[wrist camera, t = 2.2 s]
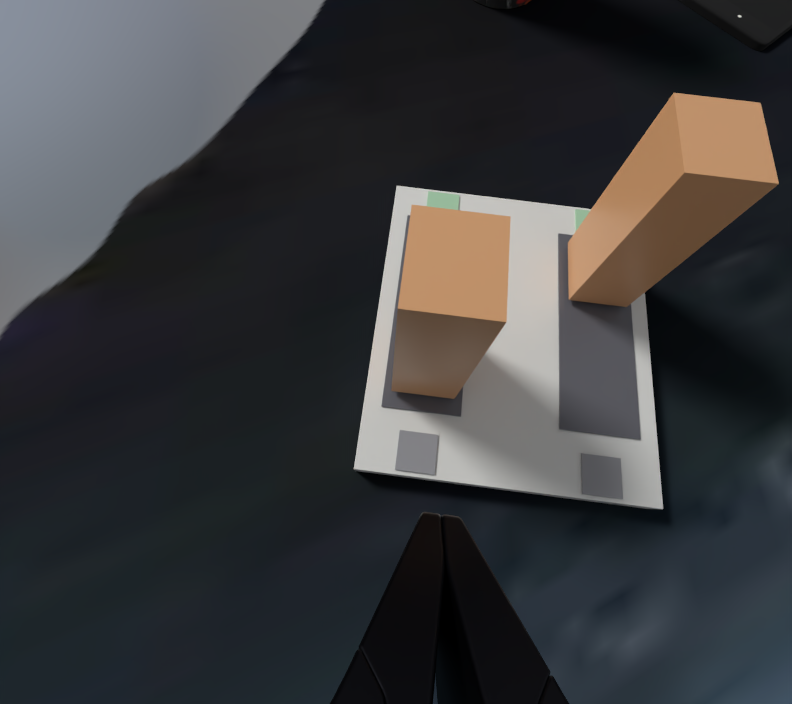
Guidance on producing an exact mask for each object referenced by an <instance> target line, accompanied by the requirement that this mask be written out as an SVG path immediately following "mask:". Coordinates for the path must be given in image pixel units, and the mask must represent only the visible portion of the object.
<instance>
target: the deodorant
mask: <svg viewBox="0 0 792 704" xmlns="http://www.w3.org/2000/svg"><path fill="white" fill-rule="evenodd" d="M474 1H476V2H477V3H480V4H482V5H484V6H487V7H492V8H496V9H511V8H517V7H520V6H523V5H525V4H527V3H528V2H530V1H531V0H474Z"/></svg>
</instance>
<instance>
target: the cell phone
mask: <svg viewBox="0 0 792 704" xmlns="http://www.w3.org/2000/svg"><path fill="white" fill-rule="evenodd" d="M678 1H680V2H681V3H683V4H684V5H686V6H687V7H689V8H690V9H692V10H694V11H695V12H697V13H698V14H700V15H701V16H703V17H704V18H706V19H707V20H709V21H710V22H712V23H713V24H715V25H716V26H718V27H719V28H721V29H722V30H724V31H725V32H727V33H728V34H730V35H731V36H733V37H735V38H736V39H738V40H739V41H741V42H742V43H744V44H745V45H747V46H748V47H750V48H752V49H754V50H756V51H762V50H764V49H766V48H767V47H768V46H769V45H771V44H772V43H773V42H775V41H776V40H777V39H779V38H780V37H781V36H782V35H784V34H785V33H786V32H788V31H789V30H790V29H792V0H678Z"/></svg>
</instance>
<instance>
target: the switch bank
mask: <svg viewBox="0 0 792 704" xmlns="http://www.w3.org/2000/svg"><path fill="white" fill-rule="evenodd" d="M412 205H420V206H428V207H437V208H445V209H453V210H461V211H470V212H478V213H486V214H494V215H502V216H511V219H510V245H509V272H508V298H507V322H506V324H505V325H504V327H503V328H502V330H501V331H500V333H499V334H498V336H497V337H496V338H495V340H494V341H493V343H492V344H491V346H490V347H489V349H488V350H487V352H486V353H485V355H484V356H483V358H482V359H481V361H480V362H479V363H478V365H477V366H476V368H475V369H474V371H473V372H472V374H471V375H470V377H469V378H468V380H467V381H466V383H465V384H464V386H463V387H462V389H461V390H460V391H459V393H458V394H457V396H456V397H455V399H450V398H442V397H435V396H427V395H419V394H411V393H403V392H395V391H391V389H392V376H393V363H394V350H395V337H396V324H397V311H398V303H399V295H400V288H401V280H402V273H403V266H404V258H405V251H406V243H407V236H408V228H409V221H410V214H411V206H412ZM590 211H591V209H585V208H576V207H568V206H560V205H552V204H543V203H535V202H527V201H519V200H510V199H502V198H494V197H486V196H477V195H469V194H461V193H452V192H444V191H436V190H428V189H419V188H411V187H403V186H397V188H396V195H395V201H394V208H393V214H392V221H391V228H390V234H389V241H388V247H387V254H386V261H385V267H384V274H383V280H382V287H381V293H380V300H379V307H378V313H377V320H376V326H375V333H374V340H373V346H372V353H371V359H370V366H369V372H368V379H367V386H366V392H365V399H364V405H363V412H362V419H361V425H360V432H359V438H358V445H357V451H356V458H355V465H354V470H355V471H360V472H368V473H375V474H383V475H391V476H398V477H406V478H414V479H421V480H429V481H437V482H444V483H452V484H460V485H467V486H475V487H483V488H490V489H498V490H506V491H513V492H521V493H529V494H537V495H544V496H552V497H560V498H567V499H575V500H583V501H590V502H598V503H606V504H613V505H621V506H629V507H636V508H644V509H663V500H662V489H661V477H660V465H659V453H658V441H657V430H656V418H655V406H654V394H653V382H652V371H651V359H650V347H649V335H648V323H647V312H646V300H645V293H643V294H642V295H641V296H640V297H638V298H637V299H636V300H635V301H633V302H632V303H631V304H630V305H629V306H627V307H622V306H614V305H606V304H598V303H590V302H581V301H573V300H569V287H568V242H569V240H570V239H571V237H572V236H573V235H574V233H575V232H576V230H577V229H578V228H579V226H580V225H581V223H582V222H583V220H584V219H585V218H586V216H587V215H588V213H589V212H590Z"/></svg>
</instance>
